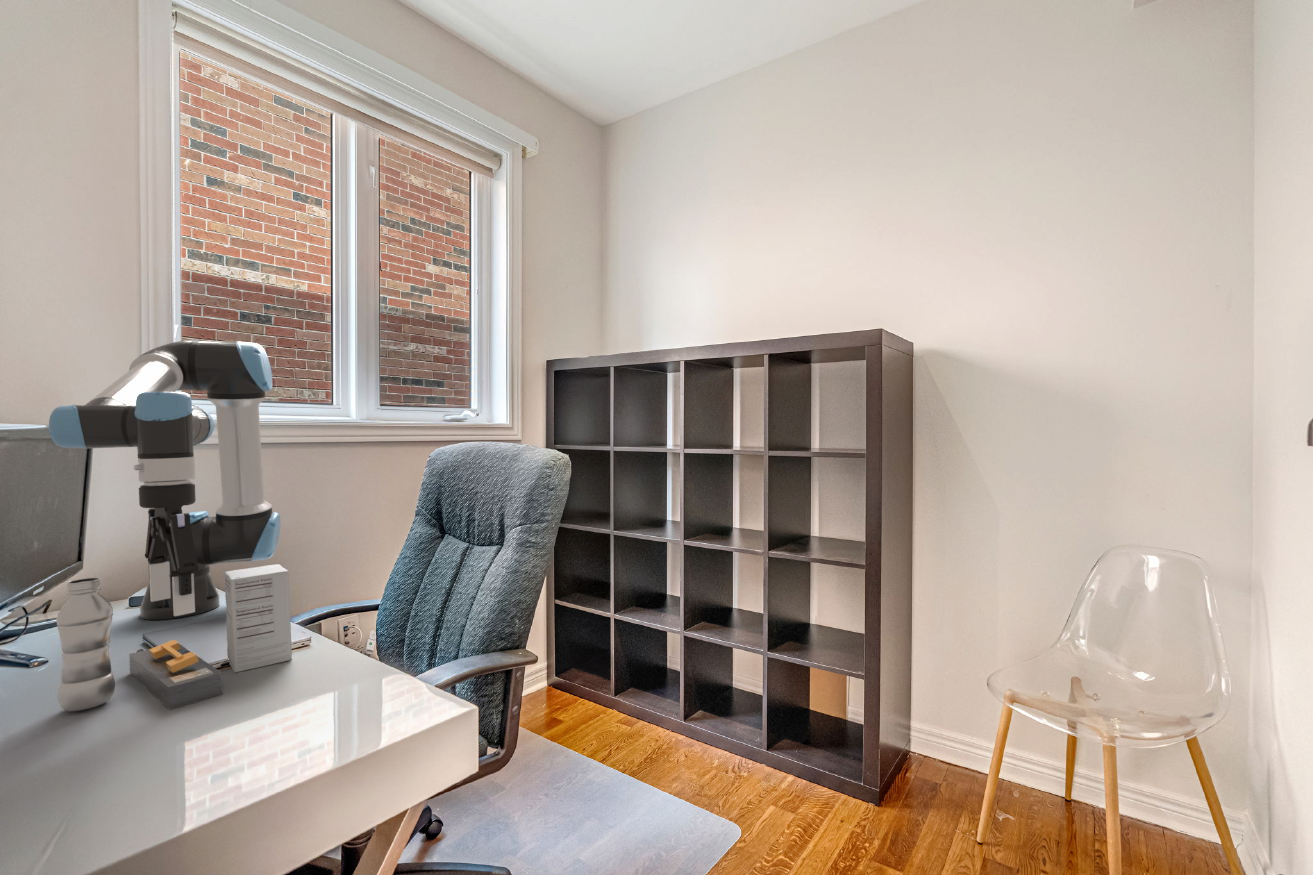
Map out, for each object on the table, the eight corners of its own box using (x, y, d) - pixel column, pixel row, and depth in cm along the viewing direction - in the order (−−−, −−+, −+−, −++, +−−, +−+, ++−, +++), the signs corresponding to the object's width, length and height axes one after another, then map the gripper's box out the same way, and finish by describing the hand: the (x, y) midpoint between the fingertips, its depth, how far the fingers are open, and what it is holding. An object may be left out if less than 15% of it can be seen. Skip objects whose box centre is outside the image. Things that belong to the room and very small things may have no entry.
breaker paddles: (151, 655, 108) (148, 647, 108) (175, 645, 111) (173, 637, 111) (172, 672, 100) (169, 663, 100) (198, 661, 103) (196, 652, 103)
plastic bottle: (50, 711, 96) (45, 583, 95) (105, 694, 102) (101, 573, 101) (68, 720, 93) (63, 587, 92) (124, 702, 99) (119, 577, 98)
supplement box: (293, 660, 115) (290, 570, 115) (233, 674, 109) (230, 579, 109) (282, 647, 123) (280, 562, 122) (226, 659, 116) (223, 570, 116)
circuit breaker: (116, 660, 117) (115, 641, 116) (162, 649, 122) (162, 631, 122) (169, 709, 95) (168, 686, 95) (222, 693, 101) (221, 671, 101)
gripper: (120, 480, 110) (125, 599, 110) (160, 489, 94) (166, 626, 95) (172, 477, 116) (176, 589, 116) (218, 484, 100) (223, 614, 101)
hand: (172, 606), depth 106 cm, fingers open, 13 cm apart
